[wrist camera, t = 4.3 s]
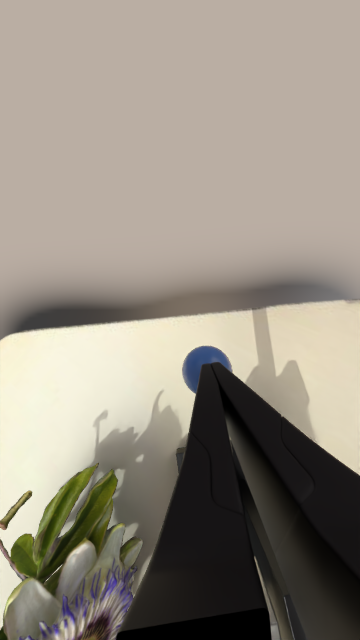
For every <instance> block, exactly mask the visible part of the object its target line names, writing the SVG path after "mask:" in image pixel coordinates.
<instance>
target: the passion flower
mask: <svg viewBox="0 0 360 640" xmlns="http://www.w3.org/2000/svg"><path fill="white" fill-rule="evenodd" d="M98 464H99V463H97V464H96V465H95V466H93V467H90V468H86V469H84V470H83V471H81V472H78V473H77V474H76V475H75V476H74V477H72V478H71V479H70V480H69V481H68V482H67V484H66V485H64V486H63V487H62V488H60V490H59V492H58V493H57V494H56V496H55V497H54V498H53V499H52V500H51V502H50V503H49V504H48V505H47V507H46V509H45V511H44V514H43V517H42V519H41V521H40V524H39V529H38V532H37V535H36V537H35V540H34V537H32V534H24V535H22V536H20V537H19V538H18V539H17V540H16V542H15V543H14V545H13V547H12V549H11V557H9V555H8V552H7V550H6V549H5V548H4V546H3V543H2V541H1V539H0V549H1V551H2V552H3V554H4V556H5V558H6V559H7V560H8V561H9V563H10V566H11V567H12V569H13V570H14V571H15V572H16V574H17V576H18V577H19V578H21V580H22V582H21V583H20V584H19V585H18V586H17V587H16V588H15V589H14V590H13V592H12V593H11V595H10V596H9V598H8V600H7V603H6V607H5V611H4V615H3V627H2V628H1V630H0V640H116V635H117V633H118V631H119V628H120V626H121V624H122V622H123V620H124V618H125V615H126V613H127V609H128V608H129V606H130V605H131V603H132V600H133V595H132V593H131V586H132V582H133V581H134V573H135V572H136V570H137V569H135V568H136V566H135V568H134V569H133V570H132V569H131V566H132V565H133V564H134V563H135V561H136V559H137V557H138V555H139V552H140V550H141V547H142V544H143V541H142V540H141V539H140V538H137V537H133V538H131V539H130V540H128V541H127V542H126V543H125V544H124V545H123V546H122V547H121V545H122V542H123V535H124V532H125V527H126V526H125V524H123V523H119V524H117V525H114V526H112V527H111V528H110V529H108V530H107V527H108V524H109V521H110V518H111V514H112V511H113V499H112V496H113V494H114V492H115V490H116V487H117V482H118V479H117V478H116V476H115V475H114V471H113V469H111V470H110V472H109V473H108V474H107V475H105V476H104V477H103V478H101V479H100V480H99V481H98V482H97V483H96V484H95V485H94V487H93V488H92V489H91V490H90V492H89V494H88V497H87V499H86V501H85V502H84V504H83V505H82V507H81V508H80V510H79V512H78V513H77V516H76V520H75V523H74V524H73V526H72V527H71V529H70V530H69V531H68V532H66V533H65V534H64V535H63V536H61V537H59V538H58V536H59V534H60V532H61V530H62V528H63V526H64V524H65V522H66V520H67V518H68V516H69V514H70V512H71V510H72V508H73V507H74V505H75V502H76V501H77V500H78V497H79V495H80V494H81V492H82V491H83V489H84V488H85V487H86V486H87V484H88V482H89V480H90V478H91V476H92V475H93V473H94V471H95V469H96V468H97V466H98ZM31 496H32V491H27V492H26V493H25V494H23V496H22V497H21V498H20V499H19V500H18V502H17V503H16V504H15V505H14V506H12V507H11V509H10V510H9V511H8V513H7V514H6V516H5V517H4V518H3V519H2V520H1V521H0V528H2V529H3V530H6V529H7V526H8V524H9V522H10V520H11V519H12V518H13V517H14V515H15V514H16V512H17V511H18V509H19V508H20V507H21V506H22V505H23V504H24V503H25V502H26V501H27V500H28V499H29V498H30V497H31ZM61 565H62V566H61ZM60 566H61V567H60ZM58 567H60V568H59V569H58V570H57V568H58ZM56 570H57V571H56ZM55 571H56V572H55ZM54 572H55V573H54ZM53 573H54V574H53ZM52 574H53V575H52ZM51 575H52V576H51ZM50 576H51V577H50ZM49 577H50V578H49ZM48 578H49V579H48ZM47 579H48V580H47ZM46 580H47V581H46ZM45 581H46V582H45Z"/></svg>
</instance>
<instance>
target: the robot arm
mask: <svg viewBox="0 0 360 640" xmlns="http://www.w3.org/2000/svg"><path fill="white" fill-rule="evenodd" d="M229 436H230V438H229ZM230 439H231V441H232V444H233V446H234V449H235V452H236V454H237V457H238V460H239V462H240V465H241V467H242V470H243V473H244V475H245V478H246V481H247V483H248V486H249V488H250V491H251V494H252V496H253V499H254V501H255V504H256V507H257V509H258V512H259V515H260V517H261V520H262V522H263V525H264V528H265V530H266V533H267V536H268V538H269V541H270V543H271V546H272V549H273V551H274V553H275V557H276V559H277V562H278V565H279V567H280V570H281V572H282V575H283V578H284V580H285V583H286V585H287V588H288V591H289V593H290V596H291V599H292V601H293V604H294V606H295V609H296V612H297V614H298V617H299V620H300V622H301V625H302V627H303V630H304V633H305V635H306V638H307V640H360V476H359V475H358V474H357V473H355V472H354V471H353V470H351V469H350V468H349V467H347V466H346V465H344V464H343V463H342V462H340V461H339V460H338V459H336V458H335V457H334V456H332V455H331V454H329V453H328V452H327V451H325V450H324V449H323V448H321V447H320V446H319V445H318V444H316V443H315V442H314V441H312V440H311V439H310V438H308V437H307V436H306V435H305V434H303V433H302V432H301V431H300V430H299V429H297V428H296V427H295V426H294V425H293V424H291V423H290V422H289V421H288V420H287V419H286V418H284V417H282V416H281V414H280V413H278V412H277V411H276V410H275V409H274V408H273V407H271V406H270V405H269V404H268V403H267V402H266V401H264V400H263V399H262V398H261V397H260V396H259V395H257V394H256V393H255V392H254V391H253V390H252V389H250V388H249V387H248V386H247V385H246V384H245V383H243V382H242V381H241V380H240V379H239V378H238V377H236V376H235V375H234V374H233V373H232V372H231V371H229V370H228V369H227V368H226V367H225V366H224V365H222V364H221V363H220V362H213V363H211V364H210V363H207V364H202V365H201V370H200V375H199V381H198V386H197V391H196V396H195V402H194V407H193V412H192V417H191V423H190V428H189V433H188V438H187V443H186V447H185V452H184V456H183V460H182V464H181V468H180V471H179V475H178V478H177V481H176V485H175V488H174V491H173V494H172V497H171V500H170V504H169V507H168V510H167V513H166V516H165V520H164V523H163V526H162V529H161V532H160V535H159V538H158V541H157V544H156V547H155V550H154V552H153V555H152V557H151V560H150V563H149V565H148V568H147V570H146V572H145V575H144V577H143V579H142V581H141V583H140V585H139V588H138V590H137V592H136V594H135V596H134V598H133V600H132V603H131V605H130V607H129V609H128V611H127V613H126V615H125V618H124V620H123V622H122V624H121V626H120V628H119V631H118V633H117V635H116V640H272V635H271V625H270V615H269V611H268V607H267V603H266V599H265V596H264V592H263V588H262V584H261V580H260V577H259V573H258V569H257V565H256V561H255V557H254V553H253V549H252V545H251V540H250V536H249V531H248V527H247V522H246V518H245V512H244V507H243V502H242V497H241V492H240V487H239V482H238V477H237V472H236V468H235V463H234V458H233V453H232V448H231V443H230Z"/></svg>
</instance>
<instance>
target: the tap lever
mask: <svg viewBox="0 0 360 640" xmlns="http://www.w3.org/2000/svg"><path fill="white" fill-rule="evenodd" d="M213 362H220V363H221V364H222V365H224V366H225V367H226V368H227V369H228V370H229V371H231V372H232V366H231V363H230V361H229V359H228V357H227V356H226V355H225V354H224V353H223V352H222V351H221V350H219V349H217V348H215V347H212V346H201V347H197V348H195V349H193V350H192V351H191V352H190V353H189V354H188V355H187V356H186V358H185V360H184V363H183V367H182V373H183V378H184V381H185V383H186V385H187V386H188V388H189V389H190V390H191V391H192V392H194V393H195V394H196V391H197V386H198V381H199V375H200V370H201V365H202V364H207V363H210V364H211V363H213ZM229 438H230V436H229ZM230 443H231V441H230ZM231 448H232V447H231ZM232 453H233V452H232ZM254 557H255V561H256V565H257V569H258V573H259V577H260V580H261V584H262V588H263V592H264V596H265V599H266V603H267V607H268V611H269V615H270V625H271V635H272V640H281V635H280V630H279V625H278V621H277V618H276V615H275V612H274V609H273V606H272V603H271V600H270V597H269V594H268V591H267V588H266V585H265V582H264V579H263V576H262V573H261V570H260V567H259V564H258V561H257V558H256V556H254Z"/></svg>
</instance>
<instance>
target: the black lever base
mask: <svg viewBox="0 0 360 640" xmlns="http://www.w3.org/2000/svg"><path fill="white" fill-rule="evenodd" d="M230 441H231V440H230ZM231 447H232V452H233V458H234V463H235V468H236V472H237V477H238V482H239V487H240V492H241V497H242V502H243V507H244V512H245V518H246V522H247V527H248V531H249V536H250V540H251V545H252V549H253V553H254V556H256V558H257V561H258V564H259V567H260V570H261V573H262V576H263V579H264V582H265V585H266V588H267V591H268V594H269V597H270V600H271V603H272V606H273V609H274V612H275V615H276V618H277V621H278V625H279V630H280V635H281V640H307V638H306V635H305V633H304V630H303V627H302V625H301V622H300V620H299V617H298V614H297V612H296V609H295V606H294V604H293V601H292V599H291V596H290V593H289V591H288V588H287V585H286V583H285V580H284V578H283V575H282V572H281V570H280V567H279V565H278V562H277V559H276V557H275V553H274V551H273V549H272V546H271V543H270V541H269V538H268V536H267V533H266V530H265V528H264V525H263V522H262V520H261V517H260V515H259V512H258V509H257V507H256V504H255V501H254V499H253V496H252V494H251V491H250V488H249V486H248V483H247V481H246V478H245V475H244V473H243V470H242V467H241V465H240V462H239V460H238V457H237V454H236V452H235V449H234V446H233V444H232V441H231ZM184 452H185V448H179V449H177V452H176V457H177V465H178V473H179V471H180V468H181V464H182V460H183V456H184Z"/></svg>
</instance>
